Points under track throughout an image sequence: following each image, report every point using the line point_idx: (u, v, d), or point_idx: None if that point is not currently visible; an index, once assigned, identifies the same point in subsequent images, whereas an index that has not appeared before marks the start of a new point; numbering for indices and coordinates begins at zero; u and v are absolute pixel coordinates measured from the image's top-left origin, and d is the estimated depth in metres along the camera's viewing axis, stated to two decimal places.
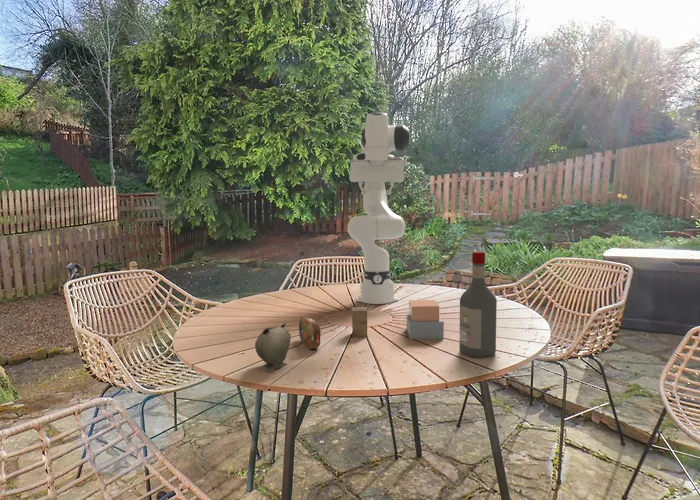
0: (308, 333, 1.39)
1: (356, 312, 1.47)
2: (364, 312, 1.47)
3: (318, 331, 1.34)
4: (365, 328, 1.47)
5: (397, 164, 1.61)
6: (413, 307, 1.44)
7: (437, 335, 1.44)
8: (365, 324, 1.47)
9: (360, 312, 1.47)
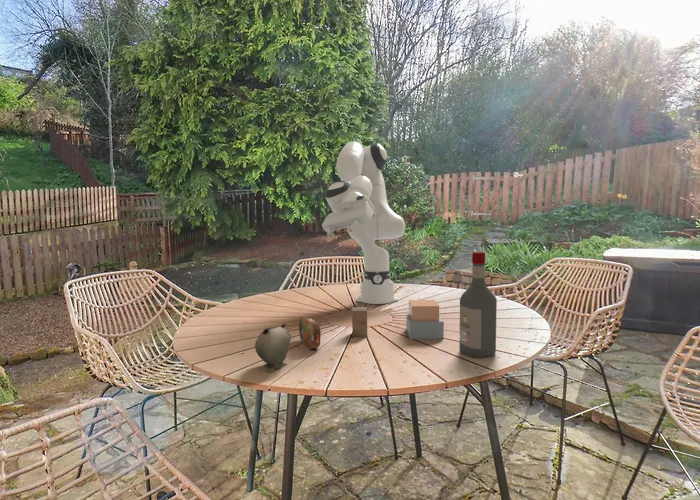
0: (308, 333, 1.39)
1: (356, 312, 1.47)
2: (364, 312, 1.47)
3: (318, 331, 1.34)
4: (365, 328, 1.47)
5: None
6: (413, 307, 1.45)
7: (437, 335, 1.44)
8: (365, 324, 1.47)
9: (360, 312, 1.47)
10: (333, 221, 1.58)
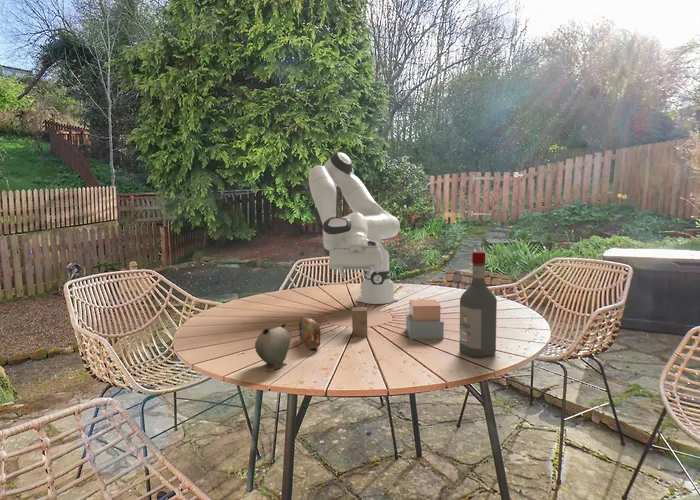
0: (308, 333, 1.39)
1: (356, 312, 1.47)
2: (364, 312, 1.47)
3: (318, 331, 1.34)
4: (365, 328, 1.47)
5: None
6: (414, 307, 1.45)
7: (437, 335, 1.44)
8: (365, 324, 1.47)
9: (360, 312, 1.47)
10: (344, 262, 1.63)
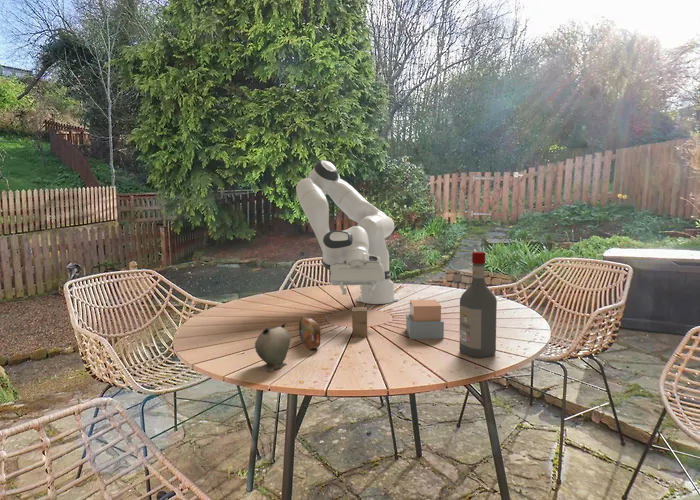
0: (308, 333, 1.39)
1: (356, 312, 1.47)
2: (364, 312, 1.47)
3: (318, 331, 1.34)
4: (365, 328, 1.47)
5: None
6: (415, 307, 1.44)
7: (437, 335, 1.44)
8: (365, 324, 1.47)
9: (360, 312, 1.47)
10: (346, 278, 1.60)
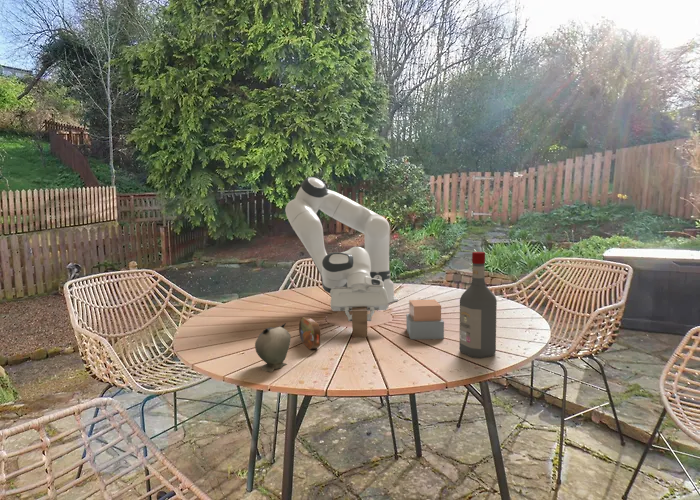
0: (308, 333, 1.39)
1: (356, 312, 1.47)
2: (364, 312, 1.47)
3: (318, 331, 1.34)
4: (365, 328, 1.47)
5: None
6: (415, 307, 1.44)
7: (437, 335, 1.44)
8: (365, 324, 1.47)
9: (360, 312, 1.47)
10: (347, 303, 1.51)
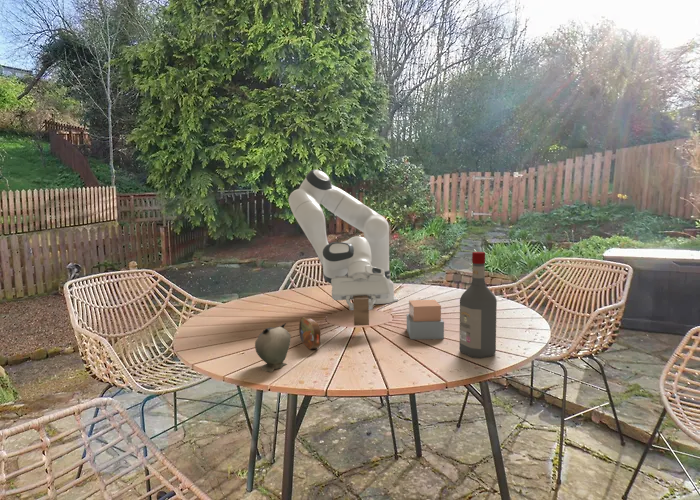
0: (308, 333, 1.39)
1: (357, 300, 1.46)
2: (365, 300, 1.46)
3: (318, 331, 1.34)
4: (367, 316, 1.47)
5: None
6: (415, 307, 1.44)
7: (437, 335, 1.44)
8: (367, 312, 1.47)
9: (361, 300, 1.46)
10: (348, 292, 1.51)
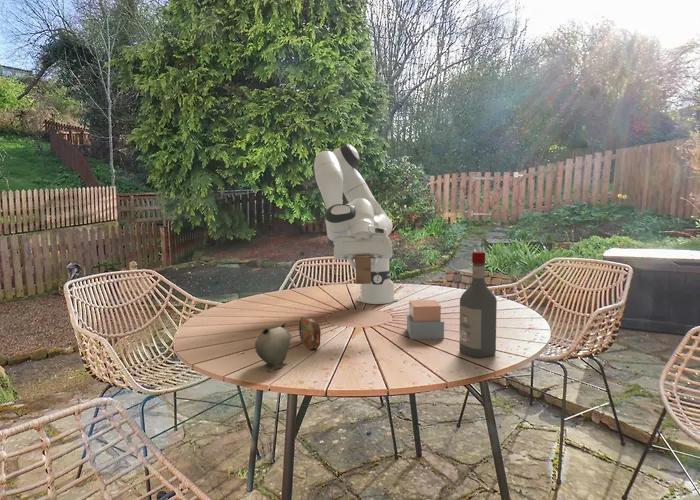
0: (308, 333, 1.39)
1: (360, 258, 1.45)
2: (368, 258, 1.45)
3: (318, 331, 1.34)
4: (369, 274, 1.45)
5: None
6: (415, 307, 1.44)
7: (437, 335, 1.44)
8: (369, 270, 1.45)
9: (364, 258, 1.45)
10: (350, 251, 1.49)
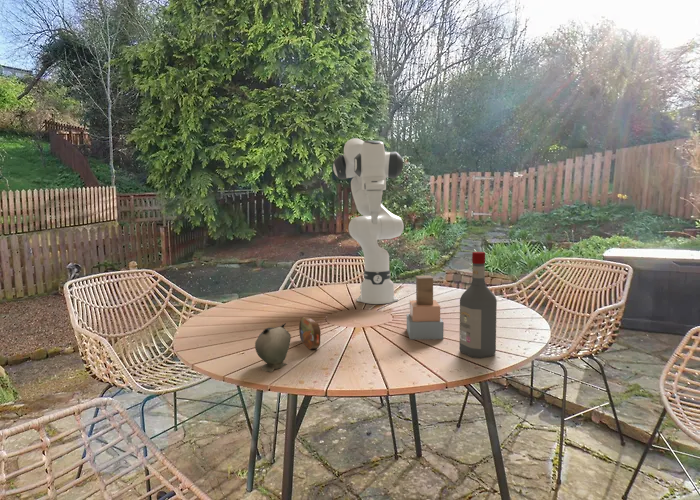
0: (308, 333, 1.39)
1: (422, 279, 1.45)
2: (430, 279, 1.45)
3: (318, 331, 1.34)
4: (431, 296, 1.46)
5: None
6: (414, 307, 1.44)
7: (436, 336, 1.44)
8: (431, 292, 1.45)
9: (426, 279, 1.45)
10: None
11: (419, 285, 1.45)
